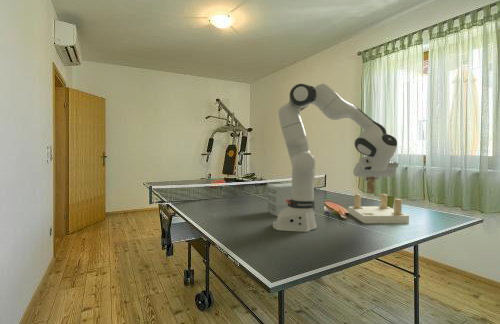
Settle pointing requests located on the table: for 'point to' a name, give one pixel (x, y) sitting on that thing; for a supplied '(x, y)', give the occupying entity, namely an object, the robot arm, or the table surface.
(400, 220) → the stool seat
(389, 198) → the plant pot
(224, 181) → the table surface
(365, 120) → the robot arm
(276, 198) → the supplement box
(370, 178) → the stool leg
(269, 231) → the table surface
